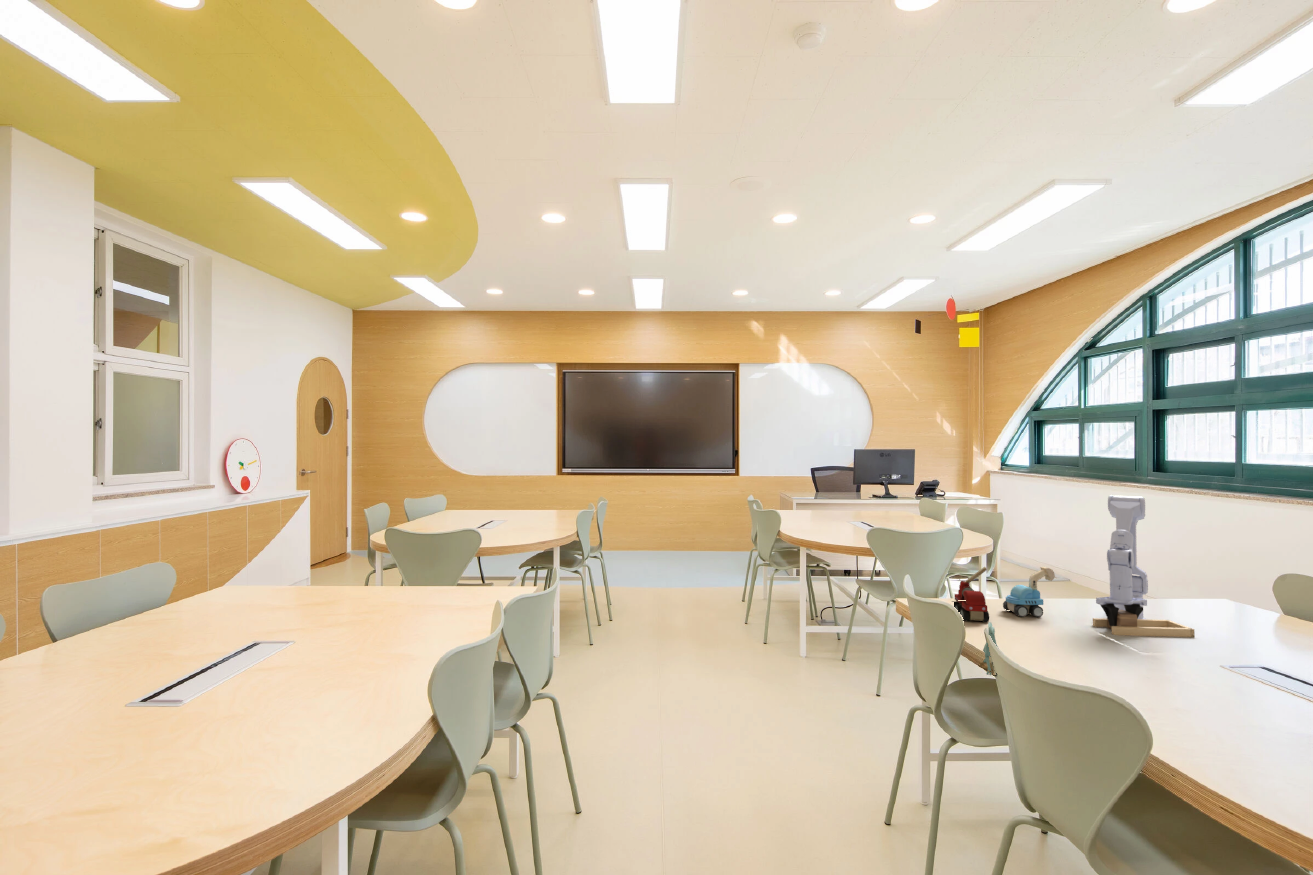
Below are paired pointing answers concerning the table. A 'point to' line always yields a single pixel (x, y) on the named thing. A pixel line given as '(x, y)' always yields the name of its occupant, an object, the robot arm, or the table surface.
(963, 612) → the toy fire truck
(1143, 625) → the bay
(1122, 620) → the box
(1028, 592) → the toy excavator
